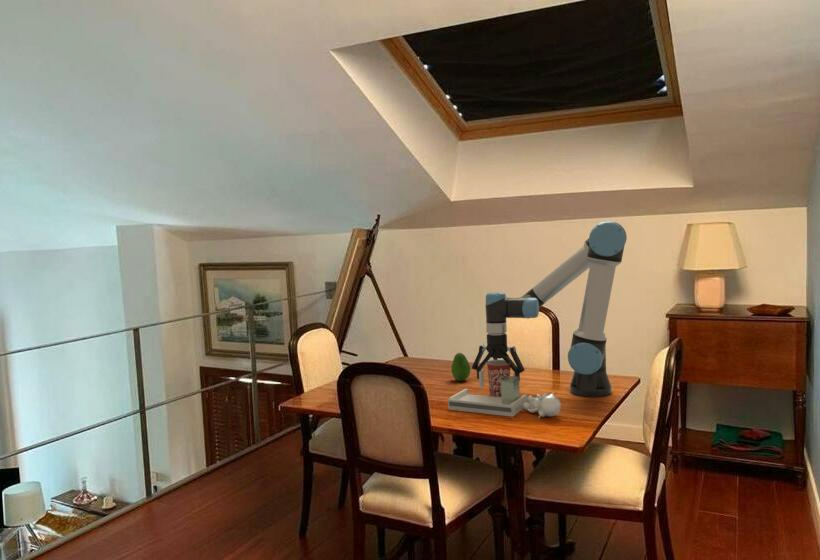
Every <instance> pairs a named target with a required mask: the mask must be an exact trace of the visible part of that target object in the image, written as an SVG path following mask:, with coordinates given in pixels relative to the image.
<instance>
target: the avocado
mask: <svg viewBox="0 0 820 560" xmlns="http://www.w3.org/2000/svg"><path fill="white" fill-rule="evenodd" d="M470 365H471V364H470V363H469V361H468V359H467V357H466V355H464V354H463V353H461V352H457V353H456V354H455V355H454V357H453V361H452V364H451V373H452V377H453V378H454V379H455V380H456V381H459V382H462V381H465V380H467V379H468V377H469V376H470V374H471V366H470Z"/></svg>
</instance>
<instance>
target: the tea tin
mask: <svg viewBox="0 0 820 560" xmlns="http://www.w3.org/2000/svg"><path fill="white" fill-rule="evenodd" d="M519 379H520V380H521V376H520V377H516V376H513V375H510V376H506V377H504V378H503V379H501V394H502V404H503V405H510V404H511V403H513V402H514V401H515V400H517V399H518V398H520V397H521V395H520V393H521V392H520V391H521V389H520V381H519Z"/></svg>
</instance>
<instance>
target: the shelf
mask: <svg viewBox="0 0 820 560" xmlns="http://www.w3.org/2000/svg"><path fill="white" fill-rule="evenodd" d="M527 397H528V394H527V393H524V394H522V395H520V398H518V399H517V400H515V401H514V402H513V403H511V404H510V405H503V404H502V397H493V396H490V395H480V394H472V393H471V394H470V393H469V389H468V388H464V389H462V390H461V391H458V392H457V393H455V394H454V395H451V396H450V397H449V398H448V399H447V400H448V401H447V405H448V410H450V411H451V410H452V411H459V412H466V413H467V412H468V413H469V412H470V413H477V414H485V415H495V416H503V417H512V418H513V417H515V416H516V415H517V414H519V412H520V411H522V410H523V409H524V408H523V403H525V402H527V403H528V401H527Z"/></svg>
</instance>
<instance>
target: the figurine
mask: <svg viewBox="0 0 820 560" xmlns="http://www.w3.org/2000/svg"><path fill="white" fill-rule="evenodd" d="M561 407H562V403H561V401H560V399H559V398H558V397H557V396H556V395H555V392H554V391H552V393H547V392H546V393H543V394H541V395H540V394H538V393H537V394H536V397H535V396H534V397H533V396H532V395H527V402H525V403H523V409H524V410H526V411H528V412H529V413H531V414H532V413H533V414H534V413H537V412H538V415H539V416H538V417H537V418H538V419H541V417H542V418H545V417H554V416H557V415H558V414H559V413H560V412H561V409H562V408H561Z"/></svg>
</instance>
